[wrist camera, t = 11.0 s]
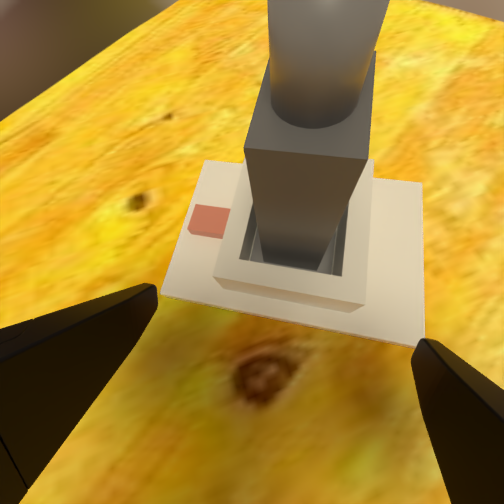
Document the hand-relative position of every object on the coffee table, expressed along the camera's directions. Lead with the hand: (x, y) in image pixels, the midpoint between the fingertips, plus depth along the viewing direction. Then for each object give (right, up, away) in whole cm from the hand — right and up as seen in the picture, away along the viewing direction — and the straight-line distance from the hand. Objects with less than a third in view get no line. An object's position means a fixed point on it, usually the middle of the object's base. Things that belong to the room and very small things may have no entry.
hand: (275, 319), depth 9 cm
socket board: (+2, +3, +10) cm, 10 cm away
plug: (+2, +3, +8) cm, 9 cm away
